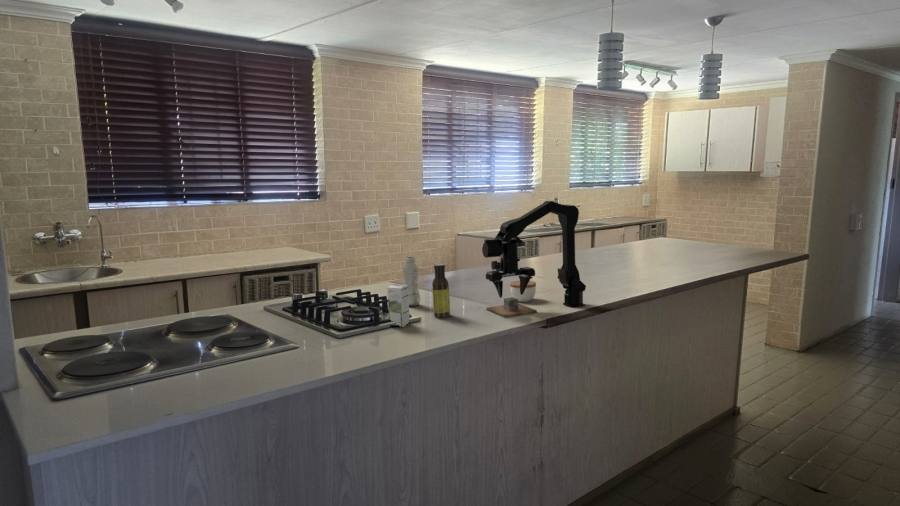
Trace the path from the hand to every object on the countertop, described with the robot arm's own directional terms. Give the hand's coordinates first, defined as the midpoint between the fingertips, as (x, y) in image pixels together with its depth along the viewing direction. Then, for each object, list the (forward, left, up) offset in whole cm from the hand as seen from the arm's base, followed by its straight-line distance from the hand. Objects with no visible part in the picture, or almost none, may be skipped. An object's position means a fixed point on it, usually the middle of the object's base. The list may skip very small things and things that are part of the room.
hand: (511, 296), depth 219 cm
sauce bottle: (+25, -9, -7) cm, 28 cm away
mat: (0, 0, -6) cm, 6 cm away
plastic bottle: (+28, -32, -7) cm, 43 cm away
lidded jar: (-14, -14, -7) cm, 21 cm away
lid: (0, 0, -6) cm, 6 cm away
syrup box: (+43, -6, -7) cm, 44 cm away
